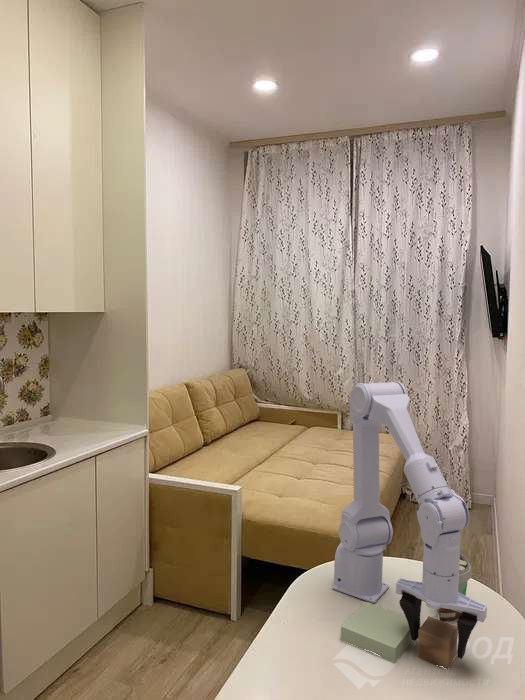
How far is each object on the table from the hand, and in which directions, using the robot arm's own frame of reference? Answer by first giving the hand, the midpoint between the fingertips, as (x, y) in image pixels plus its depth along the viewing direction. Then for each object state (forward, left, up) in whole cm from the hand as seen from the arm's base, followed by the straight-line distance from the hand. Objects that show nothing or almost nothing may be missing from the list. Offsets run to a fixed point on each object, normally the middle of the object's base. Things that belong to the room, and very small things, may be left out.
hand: (437, 646), depth 89 cm
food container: (-2, +16, -2) cm, 16 cm away
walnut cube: (0, 0, -2) cm, 2 cm away
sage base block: (-10, -1, -2) cm, 10 cm away
